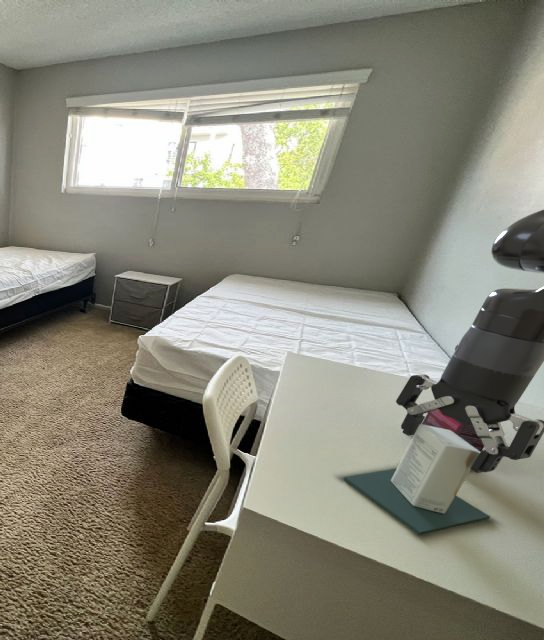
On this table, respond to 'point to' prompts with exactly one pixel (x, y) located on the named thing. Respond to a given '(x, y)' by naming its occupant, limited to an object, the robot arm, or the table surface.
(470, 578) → the table surface
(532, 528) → the table surface
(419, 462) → the cosmetic box
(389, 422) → the table surface
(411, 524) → the desk mat
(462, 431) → the supplement box
